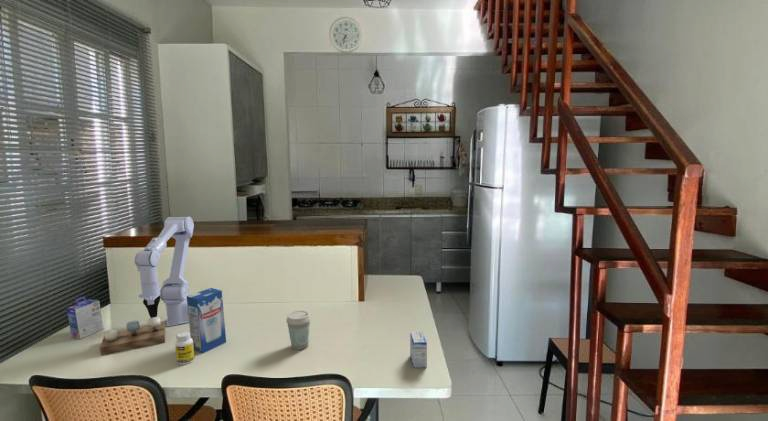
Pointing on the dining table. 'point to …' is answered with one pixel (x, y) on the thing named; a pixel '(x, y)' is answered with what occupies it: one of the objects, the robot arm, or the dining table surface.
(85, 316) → the ink cartridge box
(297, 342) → the coffee cup
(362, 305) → the dining table surface
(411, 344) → the medicine box
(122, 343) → the knob panel
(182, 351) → the supplement bottle
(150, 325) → the knob
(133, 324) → the middle knob
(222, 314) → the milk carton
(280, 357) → the dining table surface
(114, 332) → the knob
